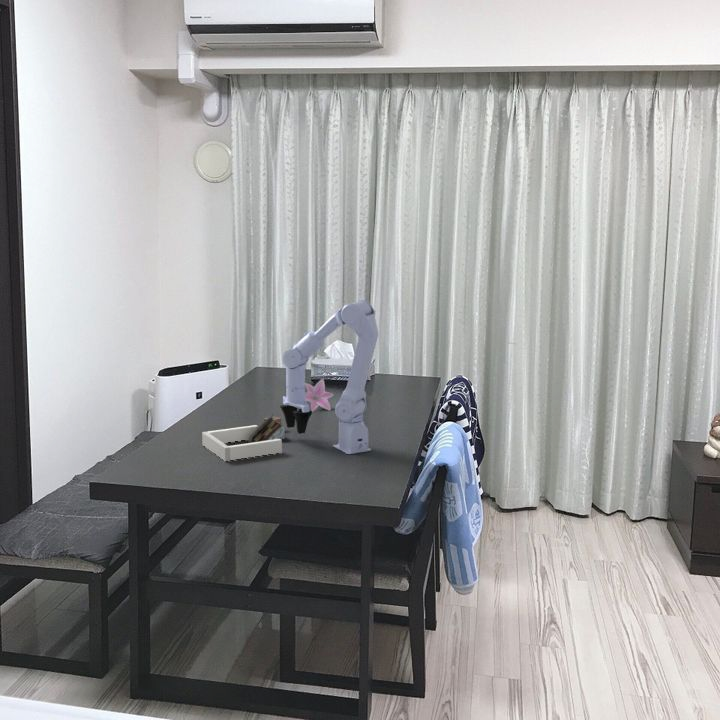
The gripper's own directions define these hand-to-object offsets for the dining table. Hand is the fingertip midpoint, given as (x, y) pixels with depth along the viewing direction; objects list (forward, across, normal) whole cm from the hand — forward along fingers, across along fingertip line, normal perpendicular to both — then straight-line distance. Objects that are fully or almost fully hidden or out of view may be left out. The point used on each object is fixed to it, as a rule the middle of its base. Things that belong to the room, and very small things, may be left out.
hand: (296, 430), depth 259 cm
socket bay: (+3, 0, -17) cm, 18 cm away
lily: (+4, -34, +24) cm, 41 cm away
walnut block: (+4, -15, -1) cm, 15 cm away
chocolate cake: (+4, -5, -7) cm, 9 cm away
